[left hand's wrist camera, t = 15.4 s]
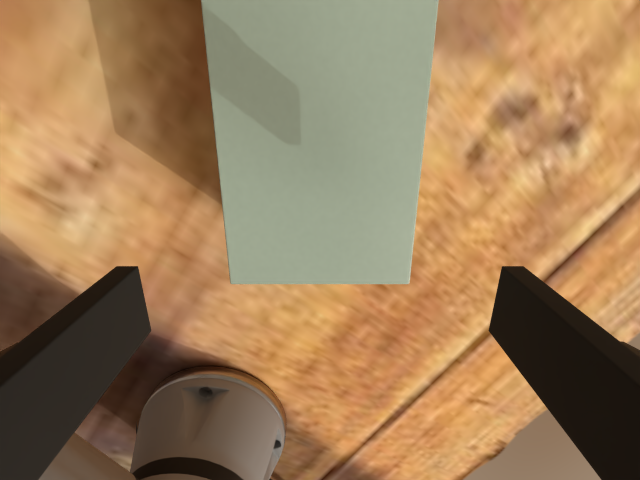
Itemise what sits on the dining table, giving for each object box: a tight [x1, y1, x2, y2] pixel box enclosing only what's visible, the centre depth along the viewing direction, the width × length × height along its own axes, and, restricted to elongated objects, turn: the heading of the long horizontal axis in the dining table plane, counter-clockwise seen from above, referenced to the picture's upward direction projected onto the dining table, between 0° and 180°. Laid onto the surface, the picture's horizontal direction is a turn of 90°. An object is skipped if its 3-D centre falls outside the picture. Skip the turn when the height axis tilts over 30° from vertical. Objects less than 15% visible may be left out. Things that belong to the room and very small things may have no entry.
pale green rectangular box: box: [201, 0, 439, 284], centre depth 22 cm, size 19×11×10 cm, turn 0°
